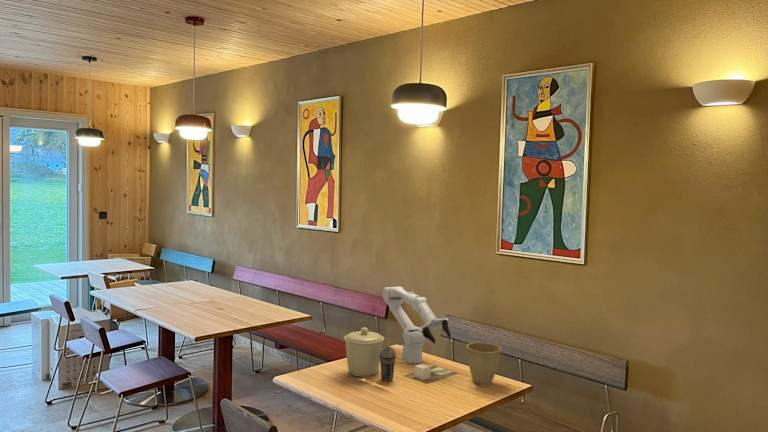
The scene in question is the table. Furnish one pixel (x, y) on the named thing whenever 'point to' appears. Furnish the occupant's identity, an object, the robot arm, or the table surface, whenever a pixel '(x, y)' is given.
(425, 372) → the beige stacked cube
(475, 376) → the plant pot
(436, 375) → the post board
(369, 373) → the canister
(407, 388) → the table surface
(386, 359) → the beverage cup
